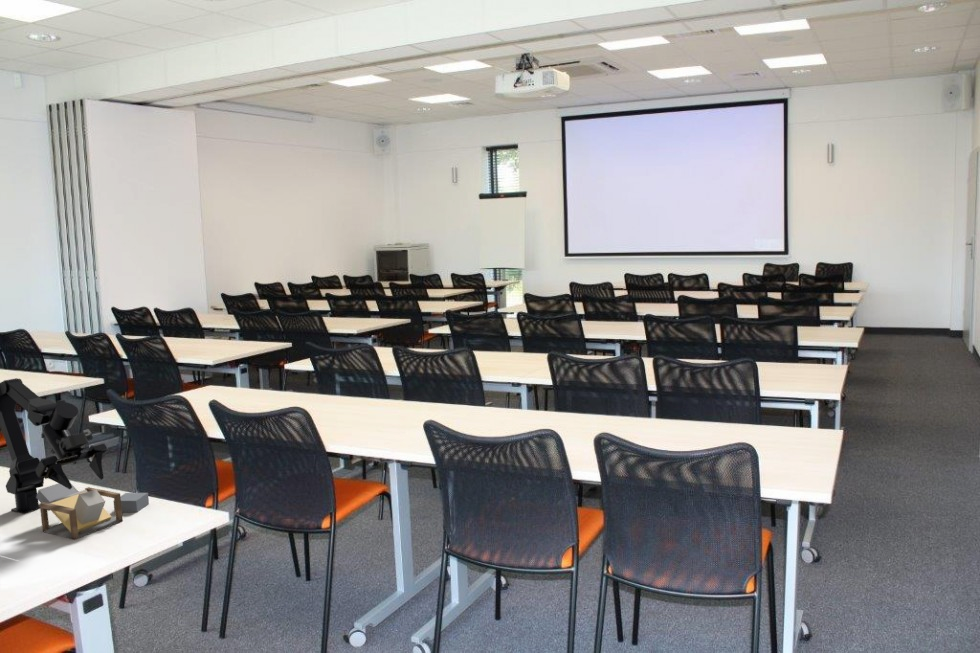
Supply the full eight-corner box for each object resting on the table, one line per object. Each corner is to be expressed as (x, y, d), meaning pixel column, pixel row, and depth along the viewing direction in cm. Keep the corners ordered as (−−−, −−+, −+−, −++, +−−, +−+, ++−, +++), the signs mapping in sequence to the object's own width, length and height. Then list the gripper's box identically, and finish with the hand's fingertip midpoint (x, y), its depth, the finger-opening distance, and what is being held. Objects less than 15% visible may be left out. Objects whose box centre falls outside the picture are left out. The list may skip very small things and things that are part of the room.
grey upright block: (72, 512, 230) (78, 494, 228) (89, 507, 234) (95, 489, 232) (81, 524, 228) (88, 506, 226) (98, 519, 232) (105, 501, 230)
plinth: (114, 512, 243) (113, 500, 243) (126, 504, 250) (125, 492, 250) (137, 512, 243) (136, 500, 242) (149, 503, 250) (147, 492, 249)
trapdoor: (31, 499, 233) (34, 488, 231) (70, 486, 243) (73, 476, 242) (69, 541, 227) (73, 530, 225) (107, 526, 237) (111, 516, 235)
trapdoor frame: (42, 531, 229) (39, 503, 228) (91, 514, 242) (88, 487, 241) (74, 539, 223) (71, 510, 222) (122, 521, 236) (120, 493, 235)
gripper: (36, 430, 222) (63, 475, 217) (101, 415, 237) (127, 457, 233) (24, 455, 227) (50, 499, 223) (88, 438, 243) (114, 480, 238)
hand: (86, 483), depth 229 cm, fingers open, 9 cm apart
